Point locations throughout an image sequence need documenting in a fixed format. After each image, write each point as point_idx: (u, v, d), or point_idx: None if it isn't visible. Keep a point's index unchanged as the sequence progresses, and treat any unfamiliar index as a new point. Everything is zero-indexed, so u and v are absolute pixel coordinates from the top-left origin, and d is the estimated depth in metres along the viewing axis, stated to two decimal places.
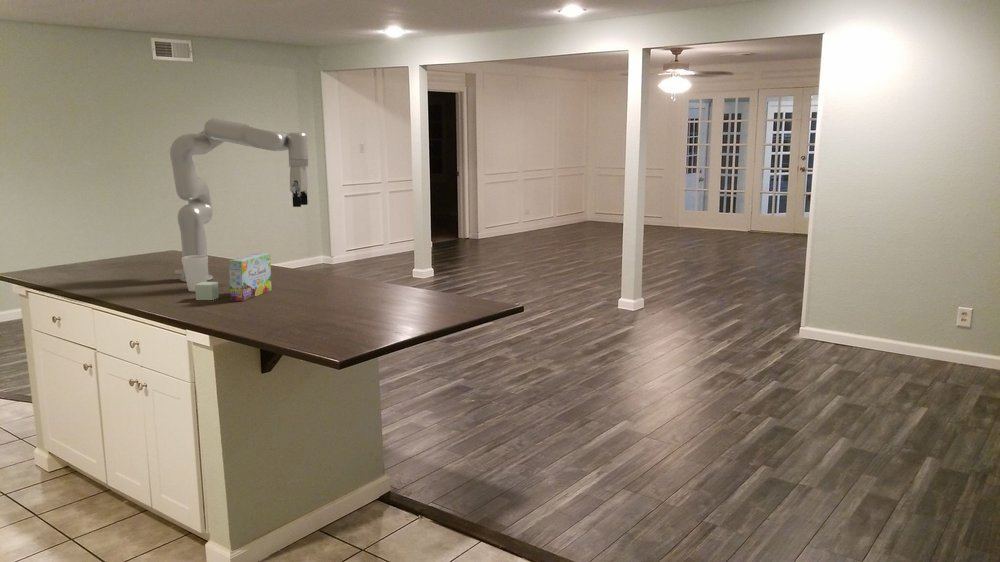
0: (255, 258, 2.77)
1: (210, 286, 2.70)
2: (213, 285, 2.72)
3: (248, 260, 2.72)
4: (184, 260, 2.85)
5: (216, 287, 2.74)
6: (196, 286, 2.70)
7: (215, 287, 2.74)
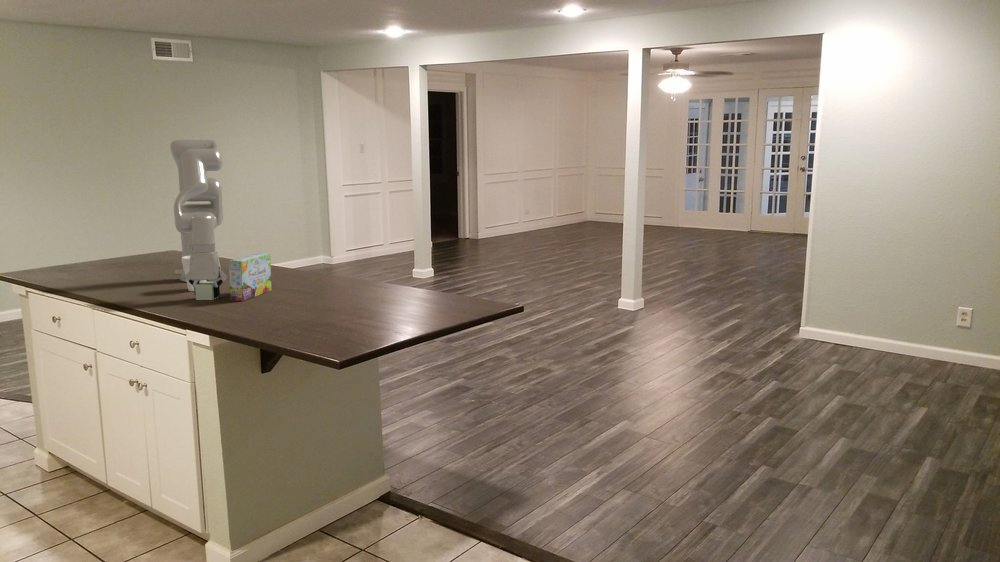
0: (255, 258, 2.77)
1: (210, 286, 2.70)
2: (213, 285, 2.72)
3: (248, 260, 2.72)
4: (184, 260, 2.85)
5: None
6: (196, 286, 2.70)
7: None
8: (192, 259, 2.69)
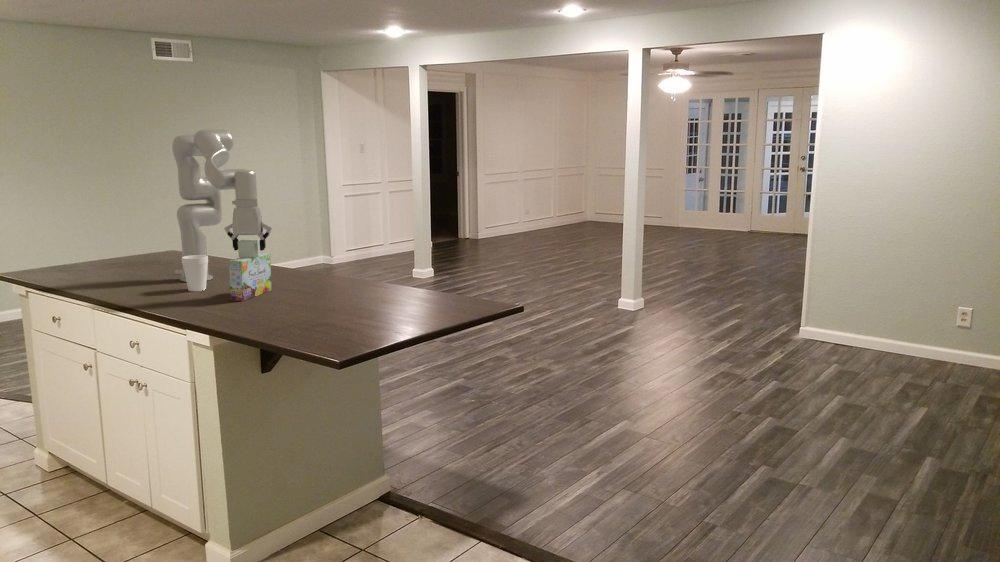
0: (255, 258, 2.77)
1: (253, 242, 2.74)
2: (255, 242, 2.75)
3: (248, 260, 2.72)
4: (184, 260, 2.85)
5: (258, 244, 2.78)
6: (239, 242, 2.74)
7: (257, 244, 2.78)
8: (235, 214, 2.72)
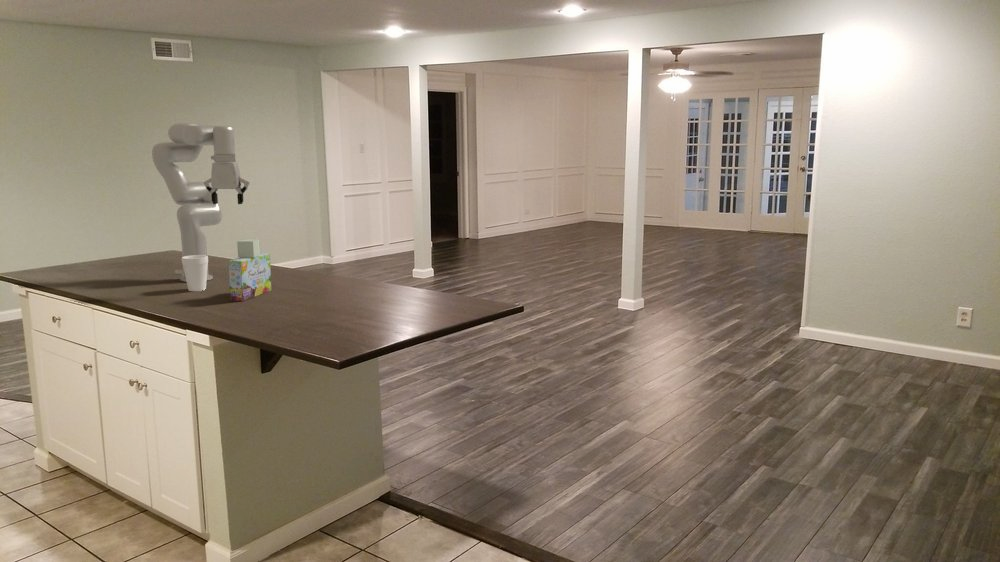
0: (255, 258, 2.77)
1: (252, 243, 2.74)
2: (254, 242, 2.75)
3: (248, 260, 2.72)
4: (184, 260, 2.85)
5: (257, 244, 2.78)
6: (238, 242, 2.74)
7: (257, 244, 2.77)
8: (214, 168, 2.82)
